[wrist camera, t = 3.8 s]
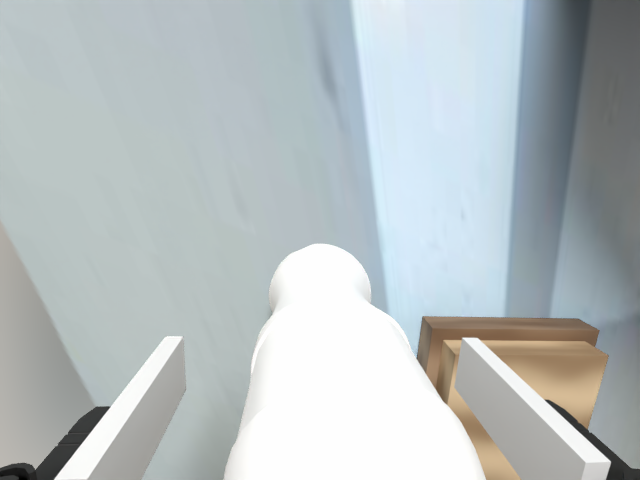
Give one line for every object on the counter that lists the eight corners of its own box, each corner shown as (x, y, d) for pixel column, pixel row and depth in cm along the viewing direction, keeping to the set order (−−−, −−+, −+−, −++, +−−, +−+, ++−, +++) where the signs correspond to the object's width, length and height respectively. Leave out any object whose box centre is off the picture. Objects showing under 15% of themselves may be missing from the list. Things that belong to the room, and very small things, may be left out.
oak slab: (443, 339, 25) (455, 354, 23) (585, 341, 25) (608, 355, 24) (424, 463, 27) (434, 486, 25) (553, 460, 28) (572, 482, 26)
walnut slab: (422, 316, 26) (432, 328, 24) (578, 318, 27) (599, 330, 25) (404, 452, 29) (411, 472, 27) (544, 450, 30) (561, 469, 28)
